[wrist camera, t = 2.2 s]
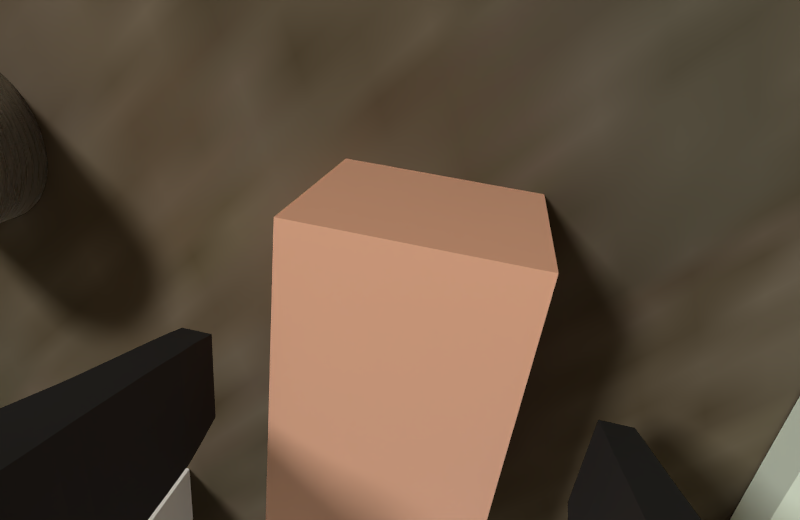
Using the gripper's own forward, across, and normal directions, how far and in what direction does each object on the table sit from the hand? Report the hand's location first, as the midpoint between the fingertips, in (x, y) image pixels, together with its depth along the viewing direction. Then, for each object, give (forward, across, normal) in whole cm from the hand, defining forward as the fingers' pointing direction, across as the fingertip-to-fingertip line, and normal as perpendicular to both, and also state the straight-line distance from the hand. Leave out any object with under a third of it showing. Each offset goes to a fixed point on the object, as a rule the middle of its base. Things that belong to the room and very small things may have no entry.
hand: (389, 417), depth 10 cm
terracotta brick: (+3, 0, 0) cm, 3 cm away
